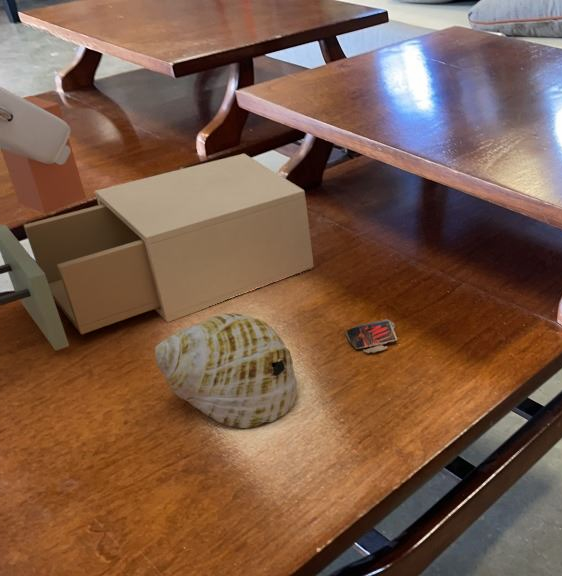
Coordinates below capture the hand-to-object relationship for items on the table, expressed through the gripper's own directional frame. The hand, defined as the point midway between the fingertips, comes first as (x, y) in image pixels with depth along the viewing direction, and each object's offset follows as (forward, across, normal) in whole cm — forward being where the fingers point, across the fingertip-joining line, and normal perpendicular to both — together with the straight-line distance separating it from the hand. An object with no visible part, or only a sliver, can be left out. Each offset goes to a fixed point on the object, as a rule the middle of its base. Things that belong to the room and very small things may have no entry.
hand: (44, 149), depth 68 cm
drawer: (+12, 0, +11) cm, 16 cm away
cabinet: (+21, -4, +4) cm, 22 cm away
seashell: (+11, -22, +14) cm, 28 cm away
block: (+3, 0, +4) cm, 5 cm away
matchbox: (+20, -27, +4) cm, 34 cm away
